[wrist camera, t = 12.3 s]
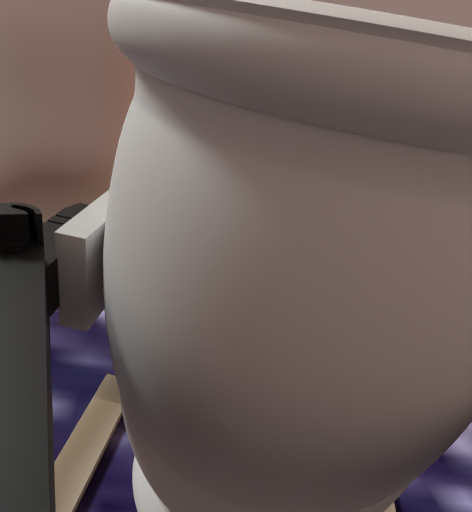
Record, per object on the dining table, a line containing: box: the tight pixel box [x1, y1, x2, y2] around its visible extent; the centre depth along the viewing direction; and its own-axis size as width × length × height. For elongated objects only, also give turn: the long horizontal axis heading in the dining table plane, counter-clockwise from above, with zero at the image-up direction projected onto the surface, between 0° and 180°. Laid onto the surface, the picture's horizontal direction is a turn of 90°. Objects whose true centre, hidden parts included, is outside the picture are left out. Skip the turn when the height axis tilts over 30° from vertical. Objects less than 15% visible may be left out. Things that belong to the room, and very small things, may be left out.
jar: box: [103, 0, 472, 512], centre depth 12 cm, size 11×10×15 cm
